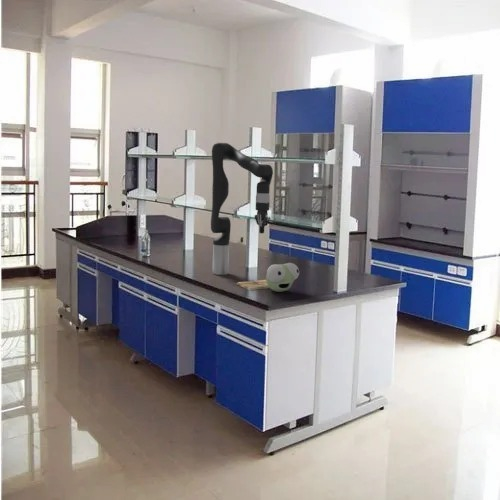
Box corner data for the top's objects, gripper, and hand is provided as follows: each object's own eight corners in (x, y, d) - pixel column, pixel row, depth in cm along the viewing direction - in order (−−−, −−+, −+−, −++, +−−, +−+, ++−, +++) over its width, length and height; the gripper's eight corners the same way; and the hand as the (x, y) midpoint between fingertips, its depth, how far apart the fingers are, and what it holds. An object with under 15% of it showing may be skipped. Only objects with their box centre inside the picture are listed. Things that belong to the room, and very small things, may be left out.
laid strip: (244, 288, 312) (244, 285, 312) (273, 285, 321) (273, 283, 321) (249, 290, 308) (249, 288, 307) (278, 287, 317) (279, 285, 317)
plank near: (236, 284, 319) (237, 282, 319) (250, 283, 323) (250, 281, 323) (244, 288, 312) (244, 285, 312) (258, 286, 317) (258, 284, 316)
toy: (274, 296, 295) (275, 266, 293) (256, 290, 307) (257, 262, 305) (302, 292, 306) (303, 263, 304) (284, 287, 318) (285, 259, 315)
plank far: (252, 283, 324) (252, 280, 324) (265, 281, 328) (265, 279, 328) (259, 286, 317) (259, 284, 317) (273, 285, 321) (273, 283, 321)
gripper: (250, 200, 327) (249, 232, 329) (263, 202, 316) (262, 235, 318) (262, 200, 331) (261, 231, 333) (275, 202, 319) (274, 234, 322)
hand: (261, 233), depth 326 cm, fingers closed
